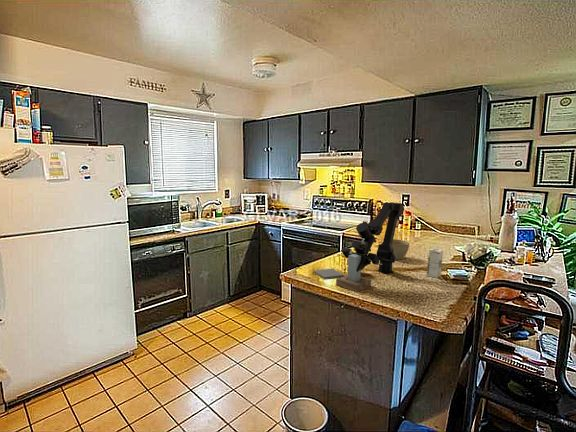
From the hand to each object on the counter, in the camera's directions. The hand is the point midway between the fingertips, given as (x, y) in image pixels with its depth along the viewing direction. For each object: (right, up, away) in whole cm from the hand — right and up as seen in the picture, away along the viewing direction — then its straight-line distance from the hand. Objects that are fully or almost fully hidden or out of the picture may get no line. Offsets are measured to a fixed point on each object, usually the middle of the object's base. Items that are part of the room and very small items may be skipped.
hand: (352, 270), depth 157 cm
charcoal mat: (-9, -5, +18) cm, 21 cm away
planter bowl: (+39, -2, +56) cm, 68 cm away
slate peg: (+1, -7, +2) cm, 7 cm away
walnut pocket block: (+1, -8, +2) cm, 8 cm away
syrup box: (+48, -7, +20) cm, 52 cm away
